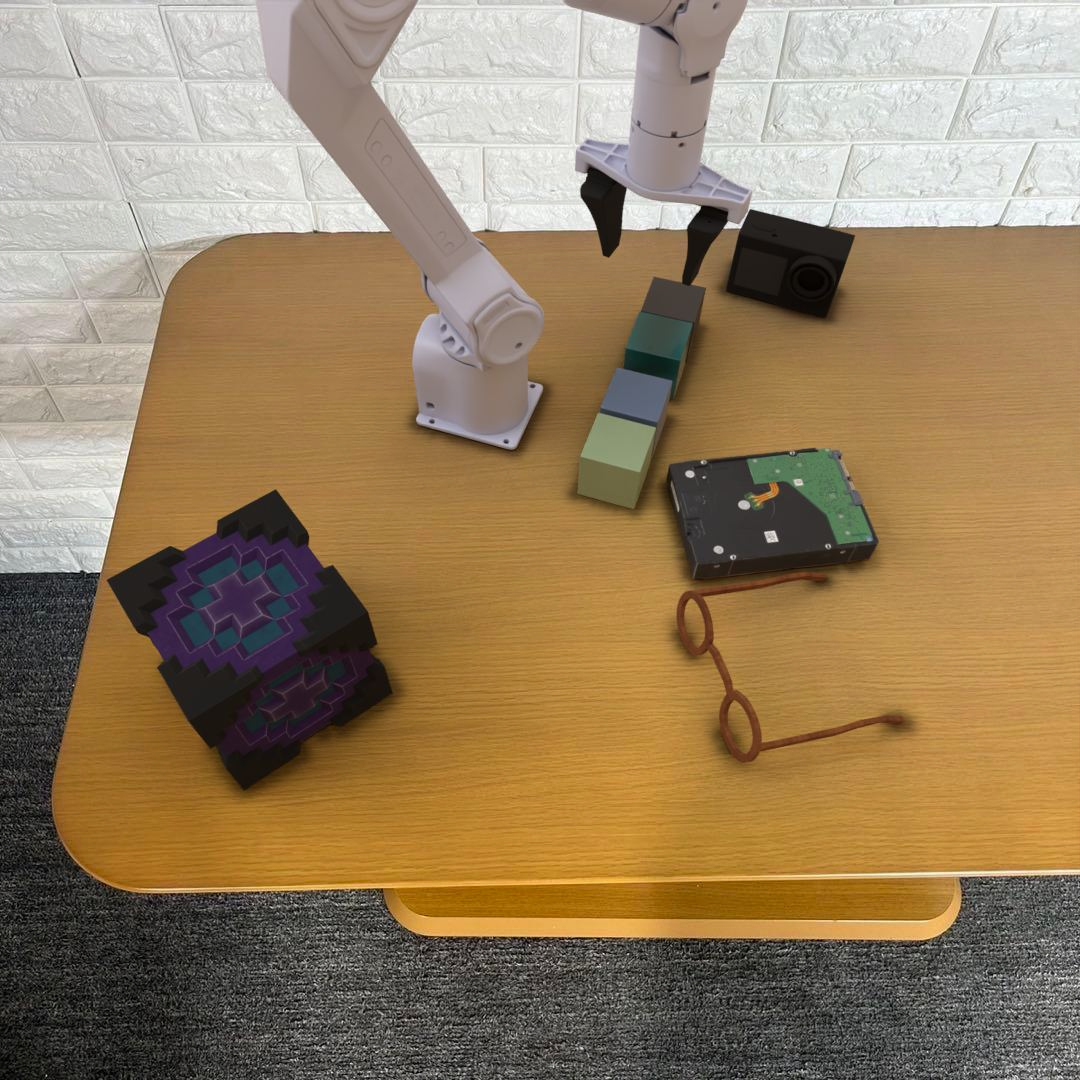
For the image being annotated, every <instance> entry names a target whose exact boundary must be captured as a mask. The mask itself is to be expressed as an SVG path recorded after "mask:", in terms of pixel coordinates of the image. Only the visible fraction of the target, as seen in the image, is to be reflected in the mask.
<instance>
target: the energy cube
mask: <svg viewBox="0 0 1080 1080" xmlns="http://www.w3.org/2000/svg"><path fill="white" fill-rule="evenodd" d="M309 544H310V535H309V532H308V530H307V528H306V527H305V526H304V524H303V523H302V521H301V520H300V519H299V518H298V516H297V515H296V514H295V512H294V511H293V510H292V508H291V507H290V506H289V504H288V503H287V502H286V500H285V499H284V498H283V497H282V495H281V494H280V492H279V490H277V489H273V490H271V491H270V492H268V493H266V494H264V495H262V496H260V497H258V498H257V499H254V500H252V501H251V502H249V503H247V504H245V505H243V506H242V507H240V508H237V509H236V510H234V511H232V512H230V513H228V514H226V515H225V516H223V517H221V518H219V519H217V523H216V532H214V533H213V534H211V535H209V536H208V537H205V538H204V539H202V540H200V541H198V542H196V543H194V544H193V545H190V546H189V547H187V548H185V549H183V550H181V549H179V548H176V547H174V546H173V545H168V546H167V547H165V548H163V549H161V550H159V551H158V552H156V553H153V554H152V555H150V556H148V557H146V558H144V559H143V560H141V561H139V562H136V563H135V564H133V565H132V566H130V567H128V568H125V569H124V570H122V571H120V572H118V573H117V574H114V575H113V576H111V577H108V578H107V579H106V582H107V584H108V585H109V587H110V589H111V590H112V593H113V594H114V597H116V599H117V600H118V603H119V604H120V606H121V608H122V609H123V610H122V611H124V613H125V615H126V616H127V618H128V620H129V622H130V623H131V626H132V627H133V629H134V630H135V631H136V632H137V634H138V635H142V636H145V637H147V638H149V640H150V641H151V643H152V645H153V646H154V648H155V649H156V650H157V652H158V653H159V655H160V657H161V659H162V660H163V661H162V662H161V663H160V664H159V665H158V666H157V667H156V668H157V670H158V672H159V674H160V675H161V677H162V679H163V681H164V683H165V684H166V686H167V688H168V689H169V691H170V692H171V694H172V696H173V698H174V699H175V701H176V703H177V705H178V706H179V708H180V710H181V711H182V714H183V715H184V717H185V718H186V720H187V723H189V725H190V726H191V727H192V728H193V730H194V731H195V732H196V733H197V734H198V736H199V737H200V739H202V741H203V742H204V743H205V744H206V746H207V747H208V748H209V749H210V750H212V749H214V748H216V750H217V753H218V755H219V757H220V762H222V765H223V766H224V768H225V769H226V770H227V772H228V773H229V774H230V775H231V777H232V778H233V779H234V780H235V782H236V783H237V784H238V785H239V787H240V788H241V789H242V791H246V790H248V789H249V788H251V787H252V786H254V785H255V784H257V783H258V782H260V781H262V780H263V779H264V778H267V776H269V775H270V774H272V773H274V772H275V771H276V770H278V769H280V768H281V767H282V766H284V765H287V763H289V762H290V761H291V760H293V759H294V758H296V757H298V756H299V755H300V754H301V745H302V743H303V742H304V741H306V740H307V739H308V738H310V737H312V736H313V735H316V734H317V733H318V732H319V731H321V730H322V729H325V728H326V727H327V726H328V725H331V724H333V725H336V726H338V727H341V728H342V727H344V726H345V725H347V724H348V723H349V722H351V721H353V720H354V719H356V718H357V717H359V716H360V715H362V714H363V713H365V712H366V711H368V710H369V709H371V708H373V707H374V706H375V705H377V704H379V703H380V702H381V701H384V700H385V699H386V698H388V697H390V696H391V695H392V694H394V692H393V689H392V686H391V682H390V679H389V675H388V672H387V668H386V666H385V665H384V663H383V662H382V660H380V658H377V657H375V655H374V654H372V649H373V648H374V647H376V646H377V645H379V643H378V639H377V636H376V633H375V629H374V627H373V623H372V620H371V616H370V613H369V611H368V610H367V608H366V607H365V605H364V604H363V603H362V601H361V600H360V598H359V597H358V596H357V595H356V593H355V592H354V591H353V589H352V588H351V587H350V585H349V584H348V582H347V581H346V580H345V579H344V577H343V576H342V575H341V574H340V572H339V571H338V569H337V568H336V567H335V565H334V564H332V565H328V566H325V567H324V566H323V564H322V563H321V562H320V559H318V557H317V556H316V555H315V553H314V552H313V551H312V550H311V548H310V547H309V546H310V545H309Z"/></svg>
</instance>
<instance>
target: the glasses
mask: <svg viewBox="0 0 1080 1080" xmlns="http://www.w3.org/2000/svg"><path fill="white" fill-rule="evenodd" d="M827 579H829V577H828V574H827V573H823V572H813V571H802V572H801V571H800V572H795V573H788V574H783V575H779V576H773V577H770V578H766V579H761V580H754V581H748V582H740V583H734V584H727V585H719V586H712V587H707V588H700V589H690V590H686V591H684V592H683V593H682V594H681V595H680V597H679V600H678V602H677V606H676V623H677V628H678V632H679V636H680V638H681V641H682V642H683V645H684V647H685V648H686V650H687V651H688V652H689V653H690V654H691V655H692V656H696V657H697V656H701V655H704V654H706V653H707V652H708V653H709V654H710V655H711V657H712V660H713V662H714V664H715V667H716V669H717V671H718V674H719V676H720V678H721V680H722V683H723V685H724V689H725V695H724V697H723V699H722V701H721V704H720V707H719V713H718V718H719V720H718V721H719V726H720V730H721V731H720V732H721V734H722V737H723V740H724V742H725V745H726V746H727V749H728V751H729V752H730V753H731V755H732V757H733V758H734V759H735V760H737V762H739V763H741V764H742V763H743V764H746V763H750V762H754V761H755V760H756V759H757V758H758V757H759V754H760V753H763V752H766V751H771V750H775V749H776V750H777V749H780V748H785V747H789V746H794V745H799V744H803V743H808V742H813V741H818V740H821V739H826V738H827V739H828V738H831V737H835V736H839V735H841V734H842V735H843V734H845V733H848V732H851V731H854V730H857V729H860V728H865V727H868V726H873V725H877V724H895V725H896V724H900V723H904V722H906V719H905V718H904V715H892V714H891V715H889V714H885V715H879V716H874V717H869V718H865V719H859V720H856V721H853V722H849V723H847V724H843V725H840V726H835V727H831V728H827V729H822V730H817V731H813V732H809V733H808V732H807V733H803V734H798V735H793V736H789V737H784V738H780V739H774V740H771V741H766V742H763V736H762V728H761V724H760V721H759V718H758V715H757V712H756V710H755V708H754V706H753V705H752V703H751V701H750V700H749V699H748V698H747V696H746V695H745V694H744V693H742V692H741V691H740V690H738V689H734V686H733V685H734V684H733V681H732V677H731V675H730V672H729V669H728V668H727V665H726V663H725V661H724V659H723V656H722V654H721V652H720V650H719V649H718V647H717V646H716V645H715V644H714V639H715V633H714V631H715V630H714V624H713V618H712V617H713V616H712V614H711V611H710V608H709V606H708V604H707V601H706V599H704V598H705V597H713V596H719V595H726V594H732V593H733V594H734V593H740V592H747V591H752V590H753V591H754V590H759V589H765V588H769V587H772V586H777V585H780V584H784V583H790V582H796V581H800V580H802V581H803V580H804V581H814V582H824V581H826V580H827ZM690 600H693V601H694V602H695V603H696V605H697V606H698V609H699V610H700V613H701V615H702V619H703V624H704V638H703V641H702V643H701V644H700V645H699V646H697V645H695V644H694V642H693V641H692V639H691V637H690V635H689V632H688V630H687V625H686V621H685V612H686V607H687V604H688V602H689V601H690ZM734 701H735V702H737V703H738V704H739V705H740V706H741V707H742V709H743V710H744V712H745V714H746V716H747V719H748V721H749V725H750V729H751V736H752V738H751V739H752V740H751V742H752V743H751V746H750V748H749V750H748V751H747V753H745V752H743V751H742V750H741V749H740V748H739V747H738V745H737V743H736V742H735V741H734V737H733V735H732V733H731V730H730V725H729V719H728V718H729V710H730V707H731V706H732V703H733V702H734Z"/></svg>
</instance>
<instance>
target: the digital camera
mask: <svg viewBox="0 0 1080 1080" xmlns="http://www.w3.org/2000/svg"><path fill="white" fill-rule="evenodd" d="M855 238H856V235H855V234H852V233H848V232H844V231H841V230H837V229H833V228H830V227H825V226H822V225H819V224H818V225H817V224H814V223H810V222H806V221H801V220H797V219H793V218H789V217H785V216H781V215H777V214H772V213H768V212H764V211H759V210H756V209H752V208H750V209H748V212H747V213H746V215H745V217H744V220H743V223H742V226H741V228H740V230H739V232H738V234H737V239H736V243H735V248H734V252H733V256H732V260H731V266H730V269H729V274H728V277H727V278H728V279H727V284H726V288H725V291H727V292H730V293H733V294H737V295H740V296H744V297H748V298H752V299H755V300H759V301H762V302H765V303H768V304H769V303H770V304H772V305H773V304H774V305H777V306H781V307H784V308H788V309H792V310H795V311H799V312H803V313H807V314H810V315H815V316H818V317H822V318H825V319H826V318H828V316H829V312H830V309H831V307H832V304H833V302H834V299H835V295H836V292H837V290H838V287H839V285H840V282H841V278H842V276H843V273H844V270H845V267H846V264H847V261H848V259H849V255H850V253H851V250H852V247H853V245H854V244H853V243H854V242H855Z"/></svg>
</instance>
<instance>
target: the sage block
mask: <svg viewBox="0 0 1080 1080" xmlns="http://www.w3.org/2000/svg"><path fill="white" fill-rule="evenodd" d="M655 432H656V427H652V426H648V425H644V424H640V423H636V422H633V421H629V420H625V419H621V418H617V417H613V416H609V415H605V414H602V413H600V412H597V414H596V416H595V419H594V421H593V423H592V426H591V428H590V431H589V433H588V435H587V438H586V440H585V443H584V446H583V448H582V450H581V452H580V455H579V463H578V464H579V466H578V478H577V495H581V496H584V497H587V498H591V499H595V500H599V501H602V502H606V503H609V504H613V505H616V506H620V507H623V508H627V509H631V510H635V508H636V506H637V503H638V500H639V497H640V495H641V493H642V492H641V491H642V488H643V487H644V486H643V485H644V484H645V480H646V478H647V474H648V472H649V469H650V466H651V461H652V460H651V455H652V449H653V443H654V437H655Z"/></svg>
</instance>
